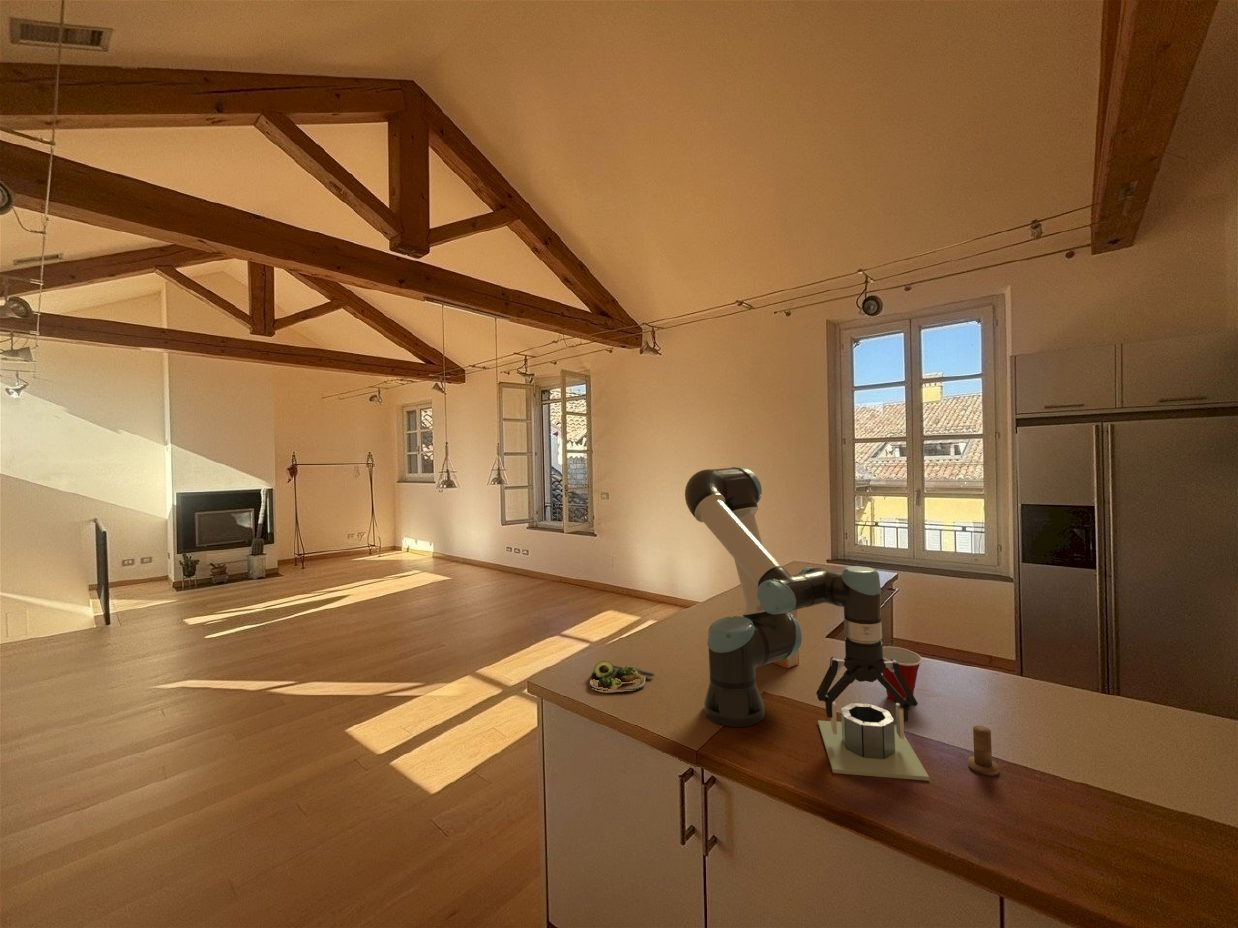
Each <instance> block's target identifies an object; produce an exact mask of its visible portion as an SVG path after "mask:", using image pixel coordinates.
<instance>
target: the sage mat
mask: <svg viewBox="0 0 1238 928" xmlns="http://www.w3.org/2000/svg"><path fill="white" fill-rule="evenodd" d="M817 725H818V728H819V731H820V734H821V738H822V741H823V743H824V747H825V751H826V754H827V757H828V761H829V765H830V767H831V771H832V773H833V774H842V775H843V774H844V775H852V776H853V775H854V776H865V777H866V776H868V777H880V778H893V779H902V780H903V779H905V780H915V781H916V780H917V781H926V782H927V781H928V782H929V781H930V775H928V773H927V771H926V769H925V767H924V765H923V764H922V762H921V761H920V759H919V757H918V756H917V754H916V752H915V751H914V749H913V747H912V745H911V744H910V742H909V740H908V739H907V738H906V736H905V734H904V739H900V737H899V735H898V734H897V728H896V724H894V733H895V753H894V754H893V755H891V756H889V757H888V758H886V759H873V758H864V757H861V756H859V755H857V754H855V753H853V752H851V751H849V750H847V749H846V748H845V745H844V743H843V740H842V721H837V734H833V731H832V728H831V720H817Z"/></svg>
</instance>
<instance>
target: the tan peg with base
mask: <svg viewBox="0 0 1238 928" xmlns="http://www.w3.org/2000/svg"><path fill="white" fill-rule="evenodd" d="M972 735H973V738H972V739H973V755H971V756H969V757H968V758H967V765H968V768H970V770H972V771H973V772H975V773H977V774H979V775H983V776H987V777H988V776H989V777H992V776H993V777H994V776H995V777H996V776H998V775H999V774H1000V766H999V764H998V763H997V762H996V761H994V760H993V755H992V754H993V752H992V730H990V728H988V727H986V726H983V725H974V726H973V727H972Z"/></svg>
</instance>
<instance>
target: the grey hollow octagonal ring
mask: <svg viewBox="0 0 1238 928" xmlns="http://www.w3.org/2000/svg"><path fill="white" fill-rule="evenodd" d="M840 715H841V716H840V718H841V721H840V722H842V740H843V743H844V745H845V748H846V749H847V750H849V751H851V752H853V753H855V754H857V755H859V756H861V757H864V758H873V759H886V758H888V757H889V756H891V755H893V754H894V753H895V733H894V725H895V719H894V718H893V716H892V714H891V712H890V711H888V710H887V709H885V708H882V707H880V706H877V705H874V704H871V703H857V702H856V703H855V702H854V703H849V704H847V705H845V706H843V707H841V708H840Z"/></svg>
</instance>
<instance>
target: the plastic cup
mask: <svg viewBox="0 0 1238 928" xmlns="http://www.w3.org/2000/svg"><path fill="white" fill-rule="evenodd" d="M891 659H895V660H896V661H897V663H898V664H899V666H900V672H901V675H902V676H903V678H904V680H905V682H906V683H907V685H908V687H909V689H910V690H911V692H912V694H913V695H914V694H915V693H914V691H915V687H916V682H917V677H918V671H919V667H920V665H921V664H922V662H923V661H924V660H923V657H922V656H921V655H919V654H918V653H916V652H914V651H911V650H910V649H907V648H902V647H898V646H883V661H890V660H891ZM882 675H883V677H884V678H885V679H886V680H887V681H888V682H889V683H890V684H891V685H892V686H893V687H894V688H895V690H896V691H897V692H898V693H899V694H900V695H901V696H902V697H903V698H907V696H906V694H905V693H904V691H903V689H902V687H901V686H900V684H899V682H898V680H897V679H896V677H895V675H894V673H893V672H891V671H890V670H889V669H888V668H885V670H884V671H883V672H882ZM885 691H886V696H887V697H888V699H889V700H890V701H893V702H895V703H899V702H898V701H897V700H896V699H895V698H894V697H893V696H892V695H891V694H890V693H889V692H888V690H887V689H886V688H885ZM899 704H900V703H899Z"/></svg>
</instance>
